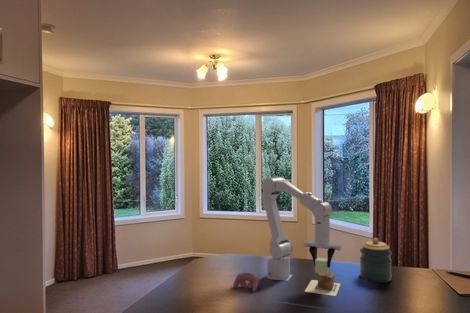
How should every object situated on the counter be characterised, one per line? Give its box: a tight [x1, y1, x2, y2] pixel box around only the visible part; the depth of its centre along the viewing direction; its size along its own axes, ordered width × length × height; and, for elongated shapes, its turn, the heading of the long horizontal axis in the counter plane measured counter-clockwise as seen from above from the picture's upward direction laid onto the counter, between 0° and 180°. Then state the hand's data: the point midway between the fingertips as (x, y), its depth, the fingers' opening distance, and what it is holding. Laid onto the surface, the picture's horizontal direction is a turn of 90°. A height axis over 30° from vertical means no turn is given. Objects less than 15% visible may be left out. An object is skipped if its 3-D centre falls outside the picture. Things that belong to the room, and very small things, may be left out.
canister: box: [359, 237, 393, 284], centre depth 163 cm, size 13×13×18 cm
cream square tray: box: [304, 279, 341, 297], centre depth 151 cm, size 12×14×1 cm
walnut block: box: [317, 272, 335, 290], centre depth 152 cm, size 6×6×5 cm
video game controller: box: [233, 272, 260, 293], centre depth 152 cm, size 10×5×7 cm, turn 66°
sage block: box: [314, 257, 330, 275], centre depth 150 cm, size 4×4×5 cm
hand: (322, 266), depth 150 cm, fingers closed on sage block, 4 cm apart
